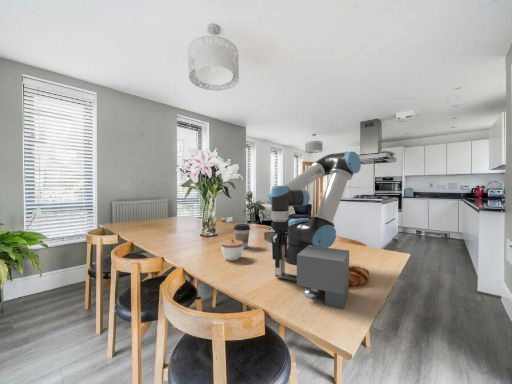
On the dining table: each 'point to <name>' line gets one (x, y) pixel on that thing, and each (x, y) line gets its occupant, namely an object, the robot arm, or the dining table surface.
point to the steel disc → (311, 293)
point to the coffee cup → (242, 233)
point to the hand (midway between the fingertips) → (279, 272)
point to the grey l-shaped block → (325, 273)
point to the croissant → (357, 275)
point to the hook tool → (283, 274)
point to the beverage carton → (268, 236)
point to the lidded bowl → (232, 249)
